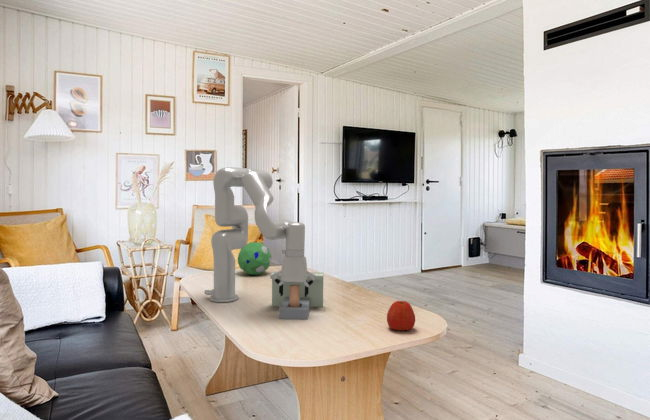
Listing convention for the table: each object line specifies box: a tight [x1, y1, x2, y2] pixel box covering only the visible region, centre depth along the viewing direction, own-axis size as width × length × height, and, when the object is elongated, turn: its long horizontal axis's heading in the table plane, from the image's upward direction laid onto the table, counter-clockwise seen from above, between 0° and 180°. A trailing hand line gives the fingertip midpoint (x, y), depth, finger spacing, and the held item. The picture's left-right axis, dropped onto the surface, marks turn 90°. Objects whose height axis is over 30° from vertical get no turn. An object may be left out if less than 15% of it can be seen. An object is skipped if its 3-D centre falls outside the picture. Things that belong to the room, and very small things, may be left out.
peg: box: [290, 284, 300, 307], centre depth 175 cm, size 4×4×12 cm
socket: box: [278, 297, 311, 320], centre depth 178 cm, size 11×18×4 cm, turn 179°
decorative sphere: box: [237, 241, 272, 276], centre depth 255 cm, size 19×20×20 cm
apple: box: [386, 300, 416, 332], centre depth 159 cm, size 10×10×10 cm
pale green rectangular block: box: [269, 271, 324, 308], centre depth 186 cm, size 22×7×14 cm, turn 89°
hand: (293, 295), depth 175 cm, fingers open, 9 cm apart
